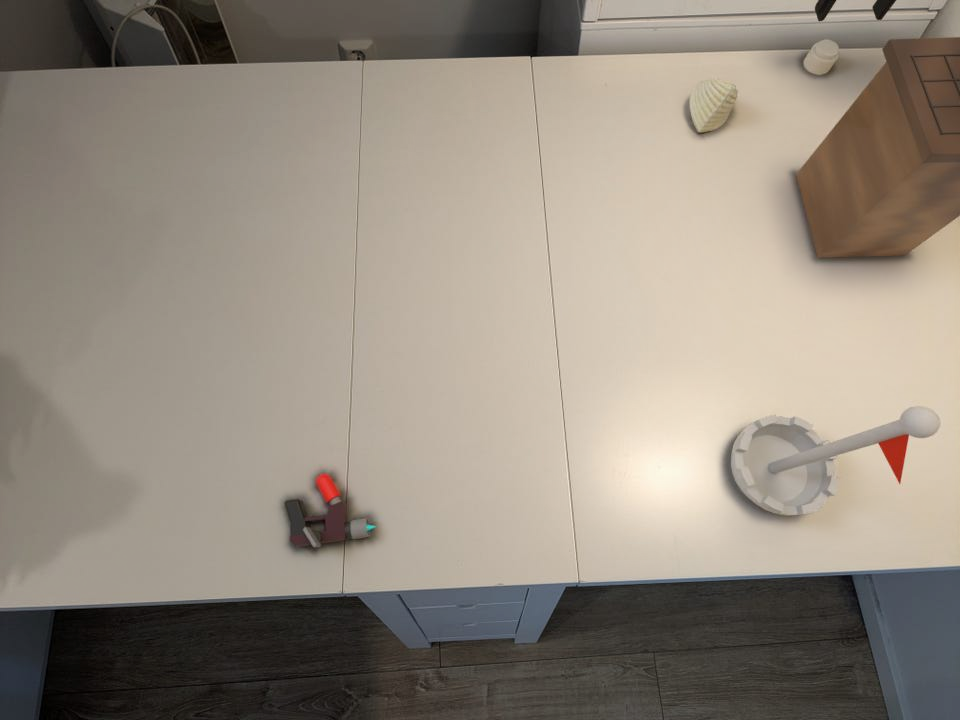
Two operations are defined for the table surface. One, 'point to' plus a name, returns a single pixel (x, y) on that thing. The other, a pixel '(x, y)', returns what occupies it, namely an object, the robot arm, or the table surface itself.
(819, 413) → the table surface
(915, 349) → the table surface
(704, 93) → the seashell
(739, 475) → the flag stand
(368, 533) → the toy gun
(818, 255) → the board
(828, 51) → the white short cylinder
